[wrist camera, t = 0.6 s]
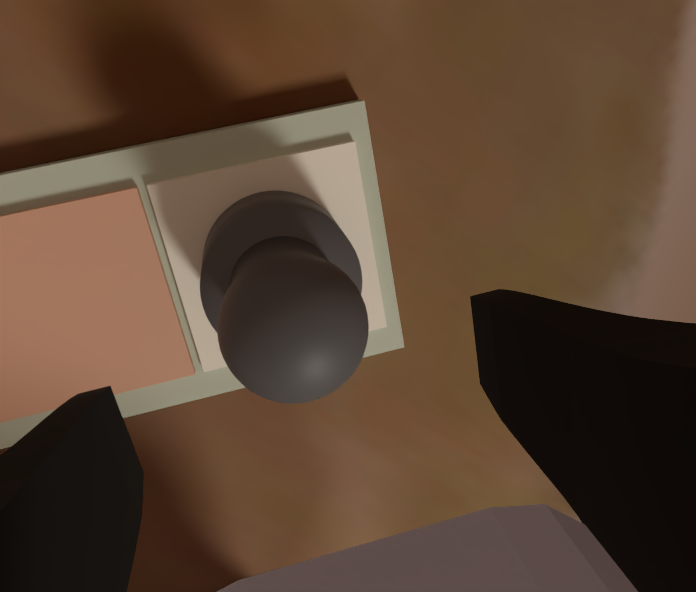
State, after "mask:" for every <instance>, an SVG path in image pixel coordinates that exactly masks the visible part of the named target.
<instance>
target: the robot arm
mask: <svg viewBox="0 0 696 592" xmlns="http://www.w3.org/2000/svg"><path fill="white" fill-rule="evenodd" d="M470 299H471V307H472V316H473V325H474V334H475V342H476V351H477V360H478V369H479V378H480V384H481V386H482V388H483V390H484V391H485V393H486V395H487V397H488V398H489V400H490V402H491V404H492V405H493V407H494V409H495V410H496V412H497V414H498V415H499V417H500V419H501V420H502V421H503V423H504V424H505V425H506V427H507V428H508V429H509V430H510V432H511V433H512V434H513V435H514V437H515V438H516V439H517V440H518V442H519V443H520V444H521V445H522V447H523V448H524V449H525V450H526V451H527V453H528V454H529V455H530V456H531V458H532V459H533V460H534V461H535V462H536V464H537V465H538V466H539V467H540V469H541V470H542V471H543V472H544V473H545V475H546V476H547V477H548V478H549V480H550V481H551V482H552V483H553V484H554V486H555V487H556V488H557V489H558V490H559V492H560V493H561V494H562V495H563V497H564V498H565V499H566V501H567V502H568V503H569V505H570V506H571V507H572V509H573V510H574V511H575V513H576V514H577V515H578V517H579V518H580V520H581V521H582V523H581V522H579V521H577V520H575V519H573V518H571V517H569V516H567V515H565V514H563V513H561V512H559V511H558V510H556V509H554V508H552V507H550V506H548V505H546V504H538V505H523V506H507V507H492V508H487V509H483V510H480V511H476V512H473V513H469V514H466V515H463V516H459V517H456V518H452V519H449V520H445V521H442V522H438V523H435V524H431V525H428V526H424V527H421V528H418V529H414V530H411V531H407V532H404V533H400V534H397V535H393V536H390V537H386V538H383V539H379V540H376V541H373V542H369V543H366V544H362V545H359V546H355V547H352V548H348V549H345V550H341V551H338V552H334V553H331V554H328V555H324V556H321V557H317V558H314V559H310V560H307V561H303V562H300V563H296V564H293V565H290V566H286V567H283V568H279V569H276V570H272V571H269V572H265V573H262V574H258V575H255V576H251V577H248V578H245V579H241V580H238V581H236V582H234V583H232V584H230V585H228V586H226V587H224V588H223V589H221V590H219V591H217V592H696V324H695V323H683V322H673V321H664V320H655V319H647V318H639V317H633V316H627V315H622V314H616V313H611V312H605V311H600V310H595V309H591V308H586V307H582V306H577V305H573V304H568V303H564V302H560V301H556V300H552V299H548V298H543V297H539V296H535V295H531V294H526V293H522V292H517V291H511V290H502V289H498V290H494V291H490V292H486V293H482V294H478V295H474V296H470ZM143 475H144V473H143V470H142V467H141V465H140V462H139V460H138V457H137V454H136V452H135V449H134V446H133V444H132V441H131V438H130V436H129V433H128V431H127V428H126V425H125V423H124V420H123V417H122V415H121V412H120V409H119V407H118V404H117V402H116V399H115V396H114V394H113V391H112V388H111V386H107V387H103V388H99V389H95V390H91V391H87V392H83V393H79V394H77V395H75V396H73V397H72V398H70V399H69V400H67V401H66V402H65V403H63V404H62V405H61V406H59V407H58V408H57V409H56V410H54V411H53V412H52V413H51V414H50V415H48V416H47V417H46V418H45V419H44V420H42V421H41V422H40V423H39V424H38V425H36V426H35V427H34V428H33V429H32V430H31V431H29V432H28V433H27V434H26V435H25V436H23V437H22V438H21V439H20V440H19V441H18V442H16V443H15V444H14V445H13V446H12V447H10V448H9V449H8V450H7V451H6V452H4V453H3V454H2V455H1V456H0V592H127V587H128V582H129V577H130V573H131V568H132V563H133V558H134V553H135V548H136V543H137V538H138V533H139V528H140V523H141V516H142V501H143Z"/></svg>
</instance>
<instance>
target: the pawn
mask: <svg viewBox="0 0 696 592" xmlns="http://www.w3.org/2000/svg"><path fill="white" fill-rule="evenodd" d="M361 292H362V271H361V266H360V262H359V259H358V256H357V254H356V251H355V249H354V248H353V246H352V244H351V242H350V241H349V239H348V238H347V237H346V235H345V234H344V233H343V231H342V230H341V228H340V227H339V226H338V224H337V223H336V222H335V220H334V219H333V218H332V216H331V215H330V214H329V213H328V212H327V211H326V210H325V209H324V208H323V207H322V206H320V205H319V204H318V203H316V202H315V201H313V200H311V199H309V198H307V197H305V196H302V195H300V194H297V193H293V192H288V191H264V192H259V193H255V194H252V195H249V196H247V197H244V198H242V199H240V200H238V201H237V202H235V203H234V204H232V205H231V206H230V207H228V208H227V209H226V210H225V211H224V212H223V213H222V214H221V215H220V216H219V217H218V219H217V220H216V221H215V223H214V224H213V226H212V228H211V229H210V231H209V233H208V236H207V239H206V242H205V246H204V251H203V259H202V267H201V276H200V297H201V301H202V306H203V309H204V311H205V314H206V317H207V318H208V320H209V322H210V324H211V325H212V327H213V328H214V330H215V331H216V332H217V336H218V342H219V347H220V351H221V353H222V356H223V359H224V361H225V362H226V364H227V366H228V368H229V370H230V371H231V372H232V374H233V375H234V376H235V378H236V379H237V380H238V381H239V382H240V383H241V384H243V385H244V386H245V387H246V388H247V389H249V390H250V391H252V392H253V393H255V394H257V395H259V396H261V397H263V398H266V399H269V400H272V401H276V402H281V403H304V402H309V401H313V400H316V399H320V398H322V397H324V396H326V395H328V394H330V393H332V392H333V391H335V390H336V389H338V388H339V387H340V386H342V385H343V384H344V383H345V382H346V381H347V380H348V379H349V378H350V376H351V375H352V374H353V373H354V371H355V370H356V368H357V367H358V365H359V364H360V362H361V359H362V357H363V355H364V352H365V348H366V345H367V340H368V330H369V324H368V314H367V310H366V306H365V303H364V301H363V298H362V296H361Z"/></svg>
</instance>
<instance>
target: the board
mask: <svg viewBox="0 0 696 592" xmlns="http://www.w3.org/2000/svg"><path fill="white" fill-rule="evenodd" d="M264 191H288V192H293V193H297V194H300V195H302V196H305V197H307V198H309V199H311V200H313V201H315V202H316V203H318V204H319V205H320V206H322V207H323V208H324V209H325V210H326V211H327V212H328V213H329V214H330V215H331V216H332V218H333V219H334V220H335V222H336V223H337V224H338V226H339V227H340V228H341V230H342V231H343V233H344V234H345V235H346V237H347V238H348V239H349V241H350V242H351V244H352V246H353V248H354V249H355V251H356V254H357V256H358V259H359V262H360V266H361V271H362V292H361V296H362V298H363V301H364V303H365V306H366V310H367V314H368V324H369V330H368V340H367V345H366V348H365V352H364V355H363V357H362V358H364V357H368V356H372V355H376V354H380V353H383V352H387V351H391V350H395V349H399V348H403V347H404V342H403V336H402V330H401V324H400V318H399V311H398V305H397V299H396V293H395V287H394V281H393V274H392V268H391V262H390V256H389V250H388V243H387V237H386V231H385V225H384V219H383V212H382V206H381V200H380V194H379V188H378V181H377V175H376V169H375V163H374V157H373V151H372V144H371V138H370V132H369V126H368V120H367V113H366V107H365V101H364V100H360V99H359V100H354V101H349V102H344V103H339V104H334V105H329V106H324V107H319V108H315V109H310V110H305V111H300V112H295V113H290V114H285V115H280V116H275V117H271V118H266V119H261V120H256V121H251V122H246V123H241V124H236V125H231V126H226V127H222V128H217V129H212V130H207V131H202V132H197V133H192V134H187V135H182V136H178V137H173V138H168V139H163V140H158V141H153V142H148V143H143V144H138V145H134V146H129V147H124V148H119V149H114V150H109V151H104V152H99V153H94V154H90V155H85V156H80V157H75V158H70V159H65V160H60V161H55V162H50V163H46V164H41V165H36V166H31V167H26V168H21V169H16V170H11V171H6V172H2V173H0V449H3V448H7V447H11V446H13V445H14V444H15V443H16V442H18V441H19V440H20V439H21V438H22V437H23V436H25V435H26V434H27V433H28V432H29V431H31V430H32V429H33V428H34V427H35V426H36V425H38V424H39V423H40V422H41V421H42V420H44V419H45V418H46V417H47V416H48V415H50V414H51V413H52V412H53V411H54V410H56V409H57V408H58V407H59V406H61V405H62V404H63V403H65V402H66V401H67V400H69V399H70V398H72V397H73V396H75V395H77V394H79V393H83V392H87V391H91V390H95V389H99V388H103V387H107V386H111V388H112V391H113V394H114V396H115V399H116V402H117V404H118V407H119V409H120V412H121V415H122V417H123V418H126V417H130V416H134V415H138V414H142V413H146V412H150V411H154V410H158V409H162V408H166V407H170V406H174V405H178V404H181V403H185V402H189V401H193V400H197V399H201V398H205V397H209V396H213V395H217V394H221V393H225V392H229V391H233V390H237V389H241V388H245V386H244V385H243V384H241V383H240V382H239V381H238V380H237V379H236V378H235V376H234V375H233V374H232V372H231V371H230V370H229V368H228V366H227V364H226V362H225V361H224V359H223V356H222V353H221V351H220V347H219V342H218V336H217V332H216V331H215V330H214V328H213V327H212V325H211V324H210V322H209V320H208V318H207V317H206V314H205V311H204V309H203V306H202V301H201V297H200V276H201V267H202V259H203V251H204V246H205V242H206V239H207V236H208V233H209V231H210V229H211V228H212V226H213V224H214V223H215V221H216V220H217V219H218V217H219V216H220V215H221V214H222V213H223V212H224V211H225V210H226V209H227V208H228V207H230V206H231V205H232V204H234V203H235V202H237V201H238V200H240V199H242V198H244V197H247V196H249V195H252V194H255V193H259V192H264Z"/></svg>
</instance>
